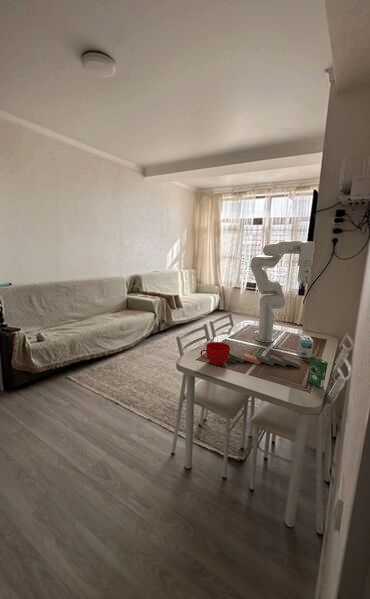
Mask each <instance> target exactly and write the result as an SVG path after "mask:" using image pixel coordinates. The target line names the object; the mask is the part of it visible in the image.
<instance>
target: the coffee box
mask: <svg viewBox="0 0 370 599" xmlns="http://www.w3.org/2000/svg"><path fill="white" fill-rule="evenodd" d="M309 359H310V361H309V367H308V374H307V380H306V381H307V382H309V383H310V384H312V385H314V386H315V387H317V388H319V389H323V388H324V386H325V382H326V381H325V380H326V376H327V370H328V364H329V362H328V361H326V360H324V359H322V358H320V357H318V356H317V355H312V356H311V358H309Z"/></svg>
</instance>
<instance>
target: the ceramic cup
mask: <svg viewBox="0 0 370 599" xmlns="http://www.w3.org/2000/svg"><path fill="white" fill-rule="evenodd" d="M230 351H231V346H230V345H229V344H227V343H224V342H218V341H213V342H212V341H211V342H208V343H206V345H205V349H201V351H200V353H199V354H200V356H201V357H202V358H203V359H204V360H205V359H206V360H208V361H209V363H210V364H211V365H212V366H214V367H215V366H219V367H221V366H223V365H224V364H225V363H226V362H228V361H227V359H228V357H229V353H230ZM203 352H205V353H206V356H204V355H203Z"/></svg>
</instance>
